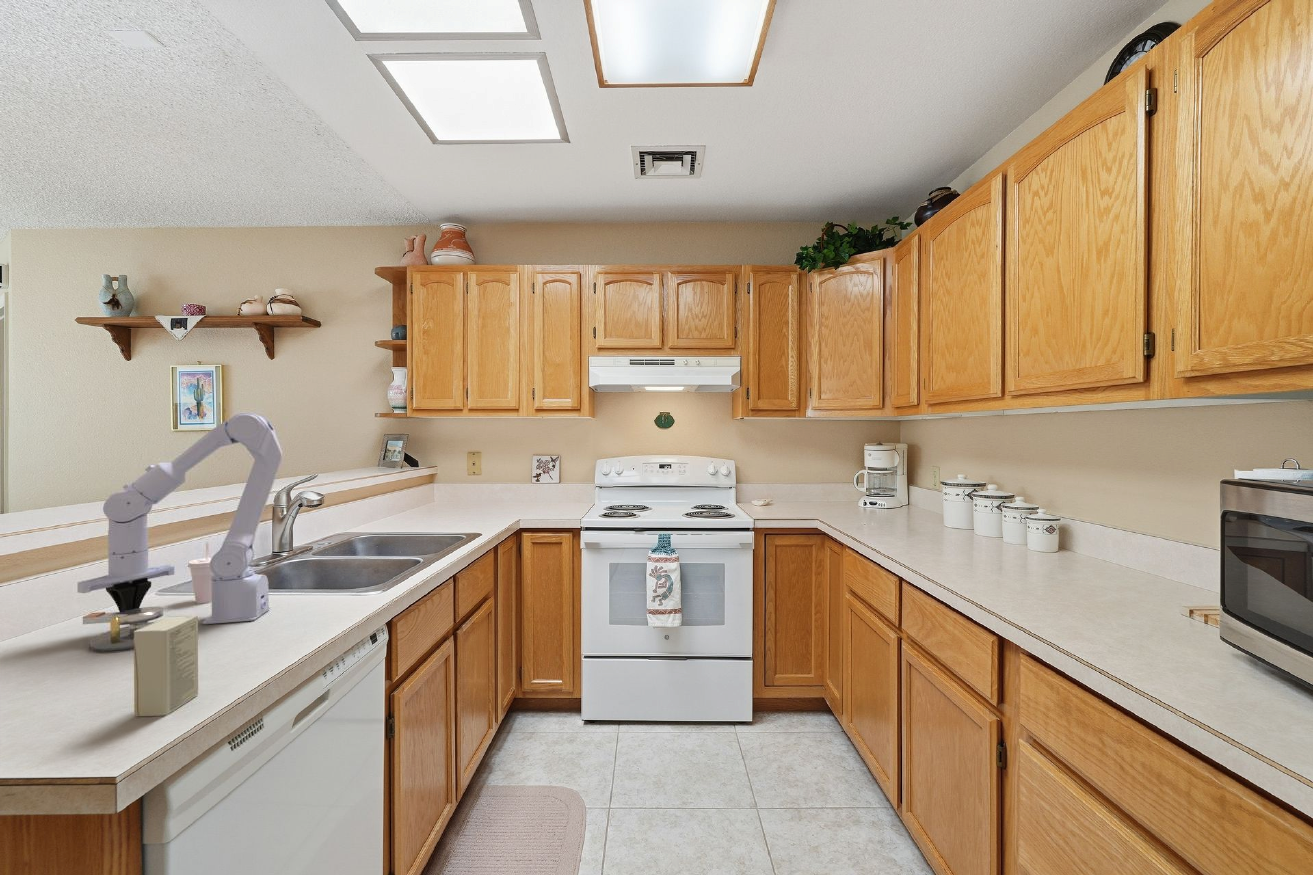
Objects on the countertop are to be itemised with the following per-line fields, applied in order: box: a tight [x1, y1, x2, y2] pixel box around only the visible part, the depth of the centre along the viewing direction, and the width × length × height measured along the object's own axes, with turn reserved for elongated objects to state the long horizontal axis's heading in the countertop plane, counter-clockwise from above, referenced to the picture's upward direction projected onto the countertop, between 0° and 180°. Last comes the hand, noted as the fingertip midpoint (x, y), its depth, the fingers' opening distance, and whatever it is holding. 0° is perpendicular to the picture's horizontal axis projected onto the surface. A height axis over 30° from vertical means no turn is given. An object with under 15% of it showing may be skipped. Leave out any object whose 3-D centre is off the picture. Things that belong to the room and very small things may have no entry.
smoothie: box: [187, 541, 214, 605], centre depth 128 cm, size 6×6×14 cm
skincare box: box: [133, 615, 199, 717], centre depth 78 cm, size 6×4×12 cm
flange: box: [82, 606, 164, 626], centre depth 104 cm, size 12×7×1 cm, turn 105°
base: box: [89, 617, 155, 653], centre depth 104 cm, size 13×13×6 cm
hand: (129, 619), depth 108 cm, fingers closed
